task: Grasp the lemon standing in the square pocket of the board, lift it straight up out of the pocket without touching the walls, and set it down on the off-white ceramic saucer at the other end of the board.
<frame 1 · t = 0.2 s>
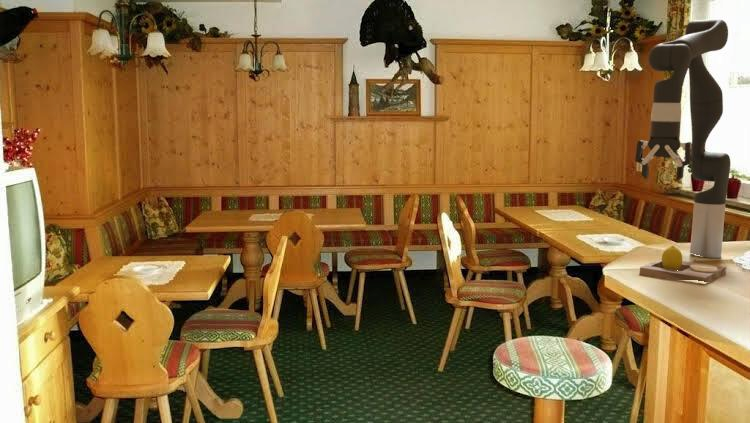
hand: (661, 179, 204), 28 cm above the table, fingers open, 8 cm apart
saucer: (703, 269, 211), resting on pocket board
lemon: (670, 273, 216), resting in pocket board
pocket board: (682, 274, 214), on the table
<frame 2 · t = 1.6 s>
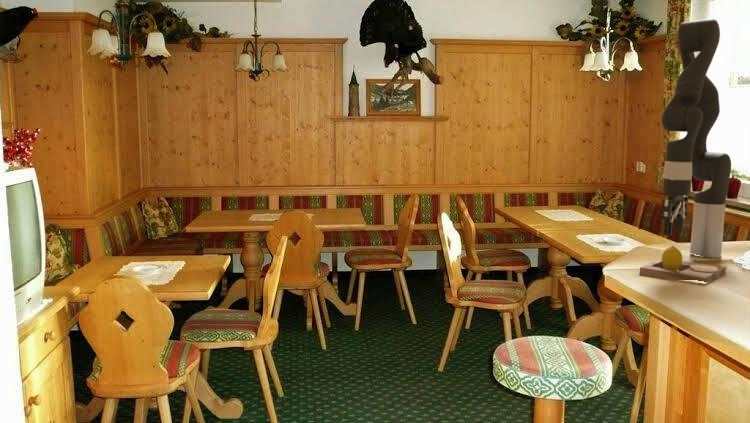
hand: (672, 233, 214), 12 cm above the table, fingers open, 8 cm apart
nothing on the table moved.
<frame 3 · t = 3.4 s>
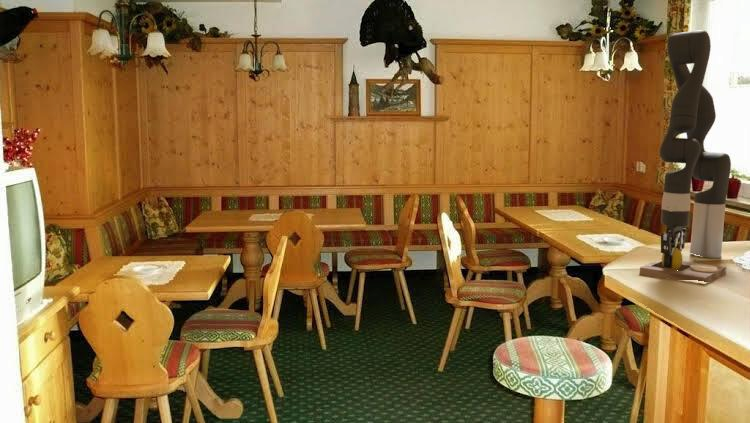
hand: (671, 265, 215), 2 cm above the table, fingers closed on lemon, 5 cm apart
lemon: (670, 273, 216), resting in pocket board, touching gripper
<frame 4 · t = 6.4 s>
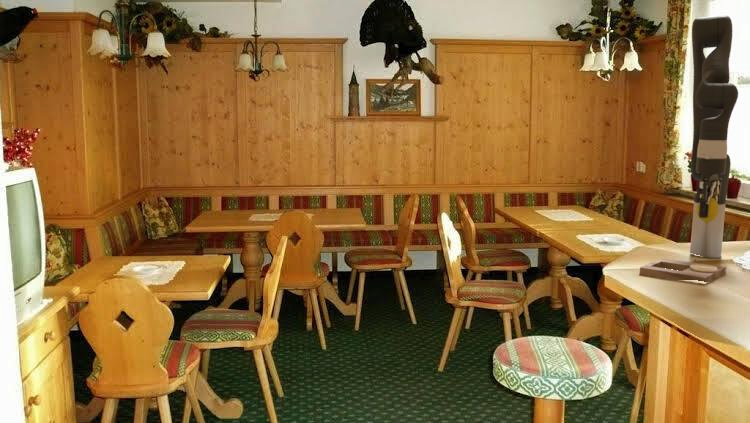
hand: (706, 216, 209), 17 cm above the table, fingers closed on lemon, 5 cm apart
lemon: (706, 224, 210), point 15 cm above the table, touching gripper
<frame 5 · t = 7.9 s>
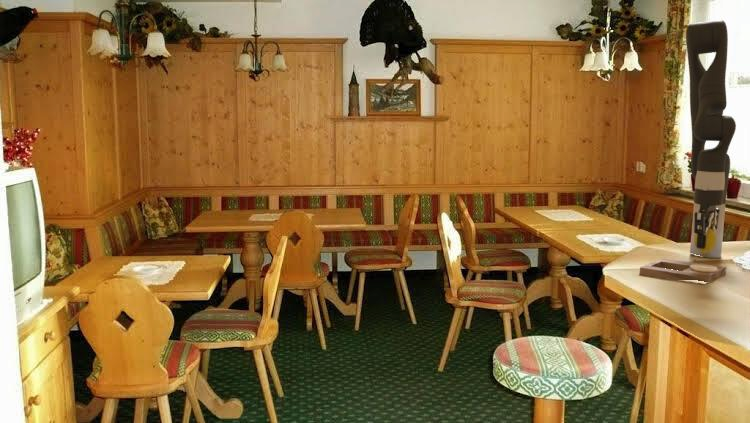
hand: (704, 246, 210), 9 cm above the table, fingers closed on lemon, 5 cm apart
lemon: (703, 254, 211), point 6 cm above the table, touching gripper
when the fingers open (6 cm above the table, at t = 9.3 s): lemon drops 1 cm, resting on saucer.
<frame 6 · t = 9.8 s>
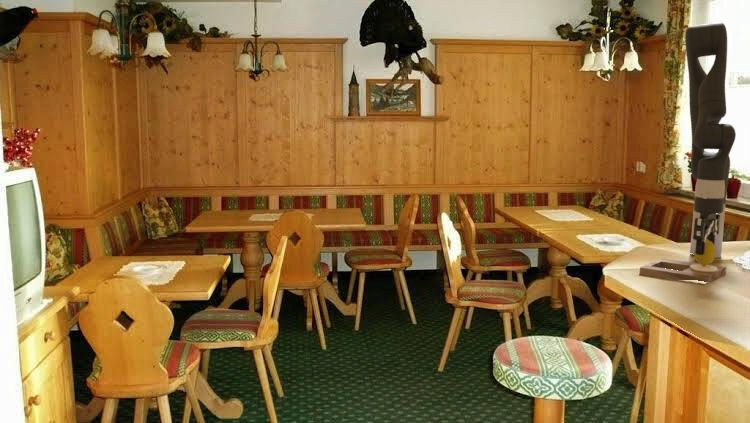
hand: (704, 252, 211), 7 cm above the table, fingers open, 8 cm apart
lemon: (703, 266, 211), point 3 cm above the table, touching saucer
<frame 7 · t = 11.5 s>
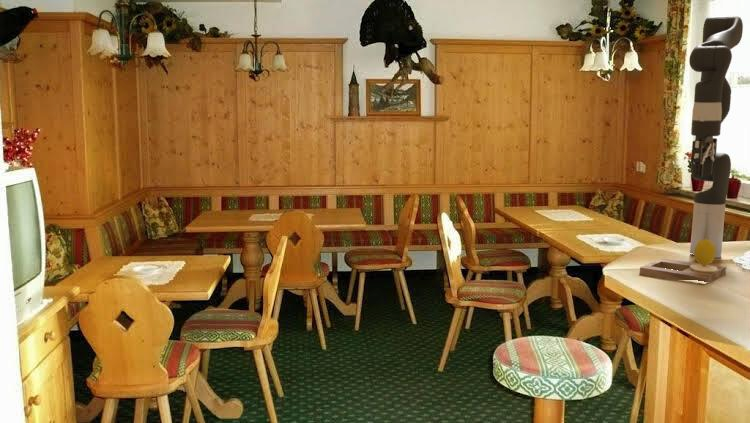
hand: (702, 176, 212), 28 cm above the table, fingers open, 8 cm apart
nothing on the table moved.
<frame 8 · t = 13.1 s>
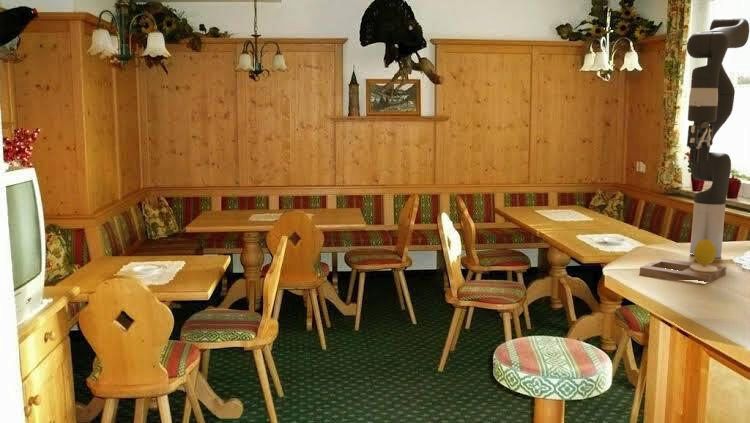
hand: (698, 161, 214), 32 cm above the table, fingers open, 8 cm apart
nothing on the table moved.
at the end: lemon 0.3 cm from the saucer (horizontally); lemon point 2.7 cm above the table; the gripper is holding nothing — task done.
